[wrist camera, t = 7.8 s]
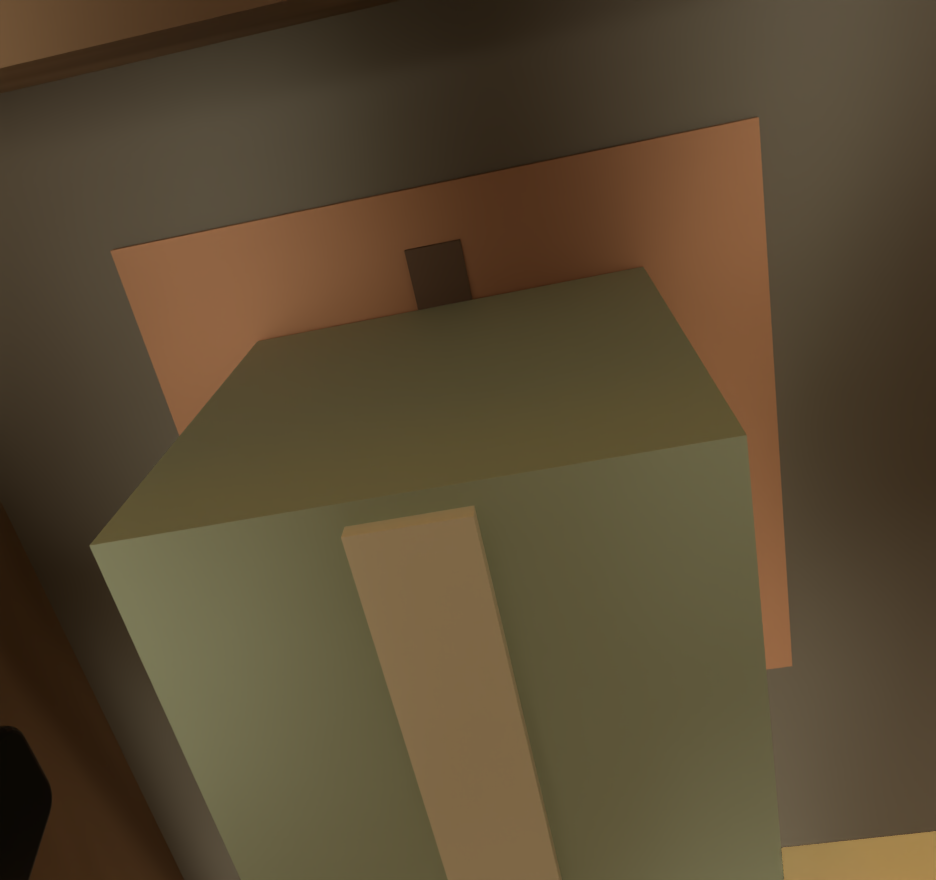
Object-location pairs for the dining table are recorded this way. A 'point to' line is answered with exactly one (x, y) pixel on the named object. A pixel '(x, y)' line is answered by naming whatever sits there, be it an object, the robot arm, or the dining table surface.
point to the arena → (461, 279)
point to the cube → (464, 599)
